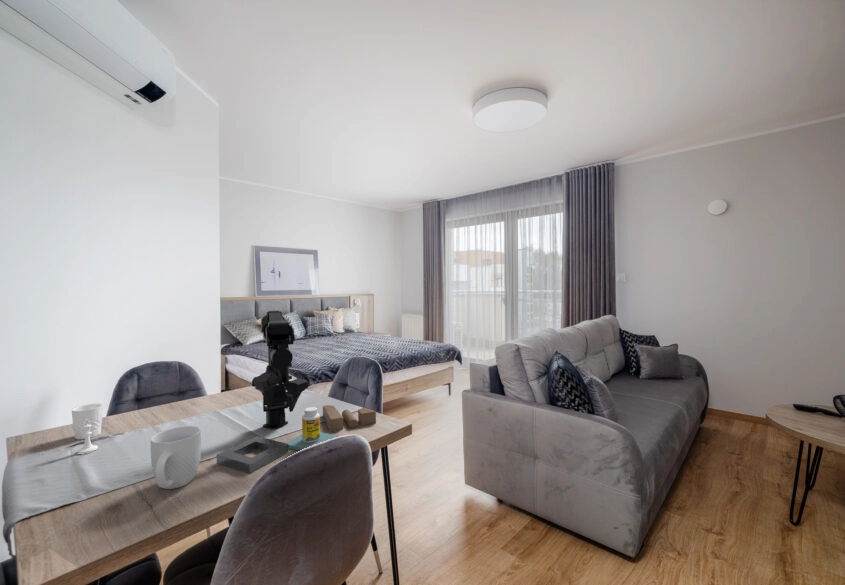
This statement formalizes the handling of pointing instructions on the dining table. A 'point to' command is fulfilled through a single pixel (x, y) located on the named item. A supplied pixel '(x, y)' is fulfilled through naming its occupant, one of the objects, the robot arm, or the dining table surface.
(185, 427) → the mug
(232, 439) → the dining table surface
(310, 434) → the supplement bottle
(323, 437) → the mat
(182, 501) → the dining table surface
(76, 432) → the white cup
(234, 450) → the frame
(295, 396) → the robot arm
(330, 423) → the wooden block set
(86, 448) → the chess piece
